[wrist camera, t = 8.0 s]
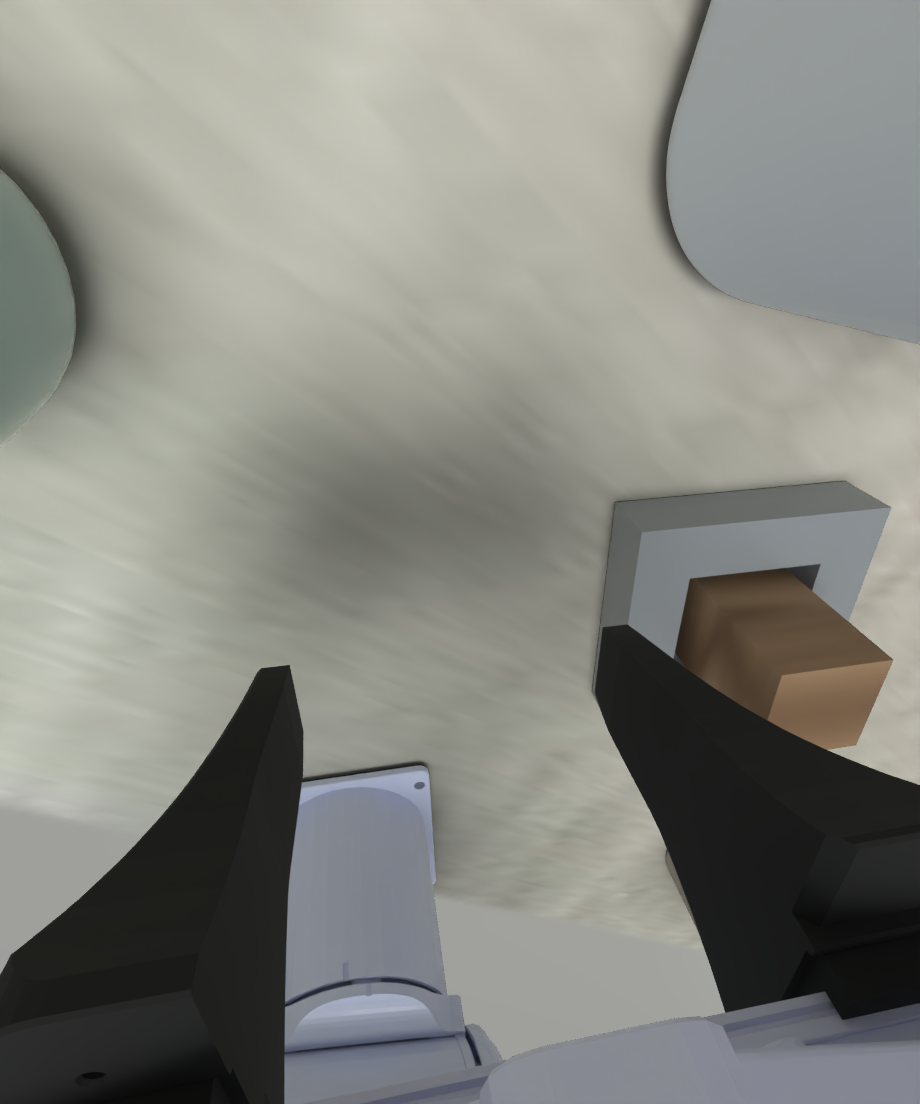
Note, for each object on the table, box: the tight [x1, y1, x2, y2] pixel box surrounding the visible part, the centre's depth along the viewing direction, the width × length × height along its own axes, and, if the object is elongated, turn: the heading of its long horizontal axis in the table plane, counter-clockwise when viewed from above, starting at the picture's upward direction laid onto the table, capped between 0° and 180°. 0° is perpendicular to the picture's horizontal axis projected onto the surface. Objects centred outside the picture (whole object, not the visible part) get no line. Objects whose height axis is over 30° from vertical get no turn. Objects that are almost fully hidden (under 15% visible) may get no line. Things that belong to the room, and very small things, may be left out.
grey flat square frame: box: [592, 481, 891, 705], centre depth 26 cm, size 10×10×2 cm
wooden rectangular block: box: [675, 568, 893, 750], centre depth 24 cm, size 4×4×7 cm
